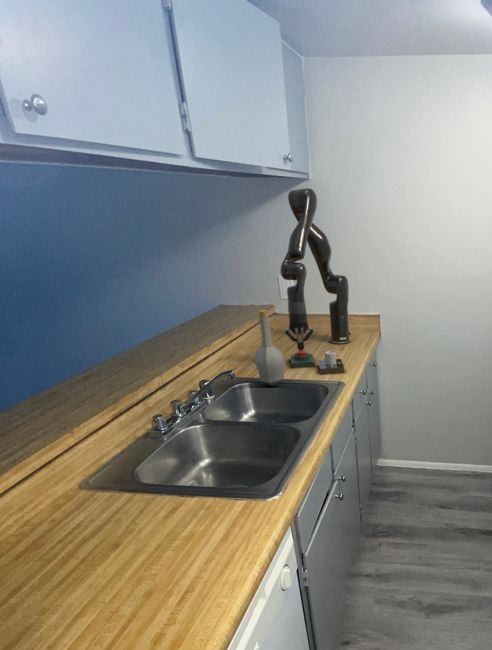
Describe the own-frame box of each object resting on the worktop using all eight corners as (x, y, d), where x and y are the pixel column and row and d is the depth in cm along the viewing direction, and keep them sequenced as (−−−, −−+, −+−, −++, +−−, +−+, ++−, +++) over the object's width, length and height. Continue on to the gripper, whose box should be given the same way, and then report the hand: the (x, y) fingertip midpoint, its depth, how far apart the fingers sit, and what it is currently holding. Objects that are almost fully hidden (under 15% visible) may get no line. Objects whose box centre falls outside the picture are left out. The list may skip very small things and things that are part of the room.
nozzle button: (297, 354, 215) (296, 350, 214) (306, 353, 216) (305, 350, 215) (297, 357, 212) (297, 353, 211) (306, 356, 212) (306, 352, 212)
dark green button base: (291, 359, 219) (290, 351, 218) (312, 358, 222) (312, 350, 220) (291, 368, 209) (290, 359, 207) (314, 366, 211) (313, 357, 209)
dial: (330, 366, 204) (329, 354, 202) (323, 363, 207) (322, 351, 205) (338, 363, 207) (337, 351, 205) (331, 361, 210) (330, 349, 208)
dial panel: (318, 365, 213) (318, 359, 211) (341, 363, 215) (340, 358, 213) (321, 374, 202) (320, 368, 201) (344, 372, 204) (343, 366, 203)
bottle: (292, 382, 193) (283, 308, 179) (279, 392, 184) (269, 315, 169) (266, 380, 195) (256, 306, 181) (253, 390, 186) (241, 313, 172)
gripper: (312, 308, 209) (315, 347, 217) (281, 310, 206) (285, 348, 214) (313, 312, 202) (316, 351, 211) (281, 313, 200) (286, 353, 208)
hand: (301, 350), depth 212 cm, fingers closed
